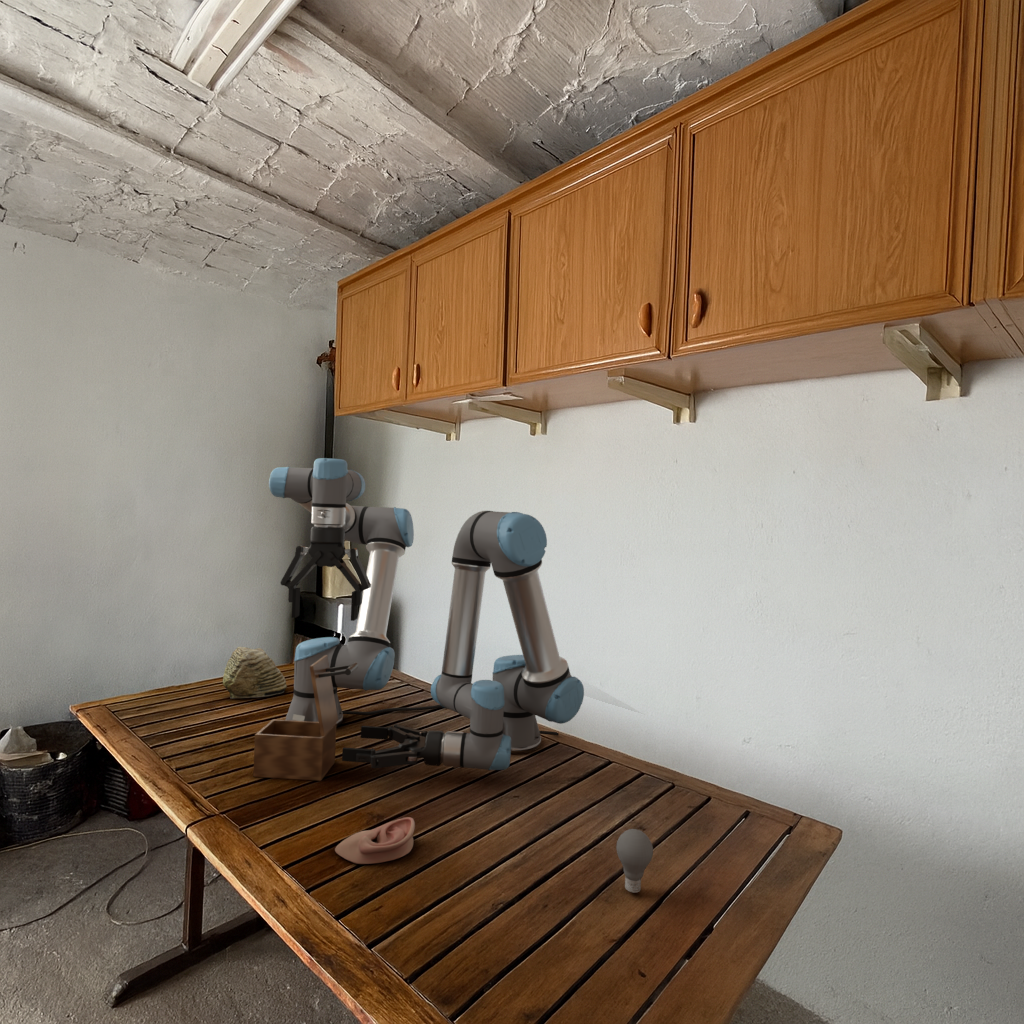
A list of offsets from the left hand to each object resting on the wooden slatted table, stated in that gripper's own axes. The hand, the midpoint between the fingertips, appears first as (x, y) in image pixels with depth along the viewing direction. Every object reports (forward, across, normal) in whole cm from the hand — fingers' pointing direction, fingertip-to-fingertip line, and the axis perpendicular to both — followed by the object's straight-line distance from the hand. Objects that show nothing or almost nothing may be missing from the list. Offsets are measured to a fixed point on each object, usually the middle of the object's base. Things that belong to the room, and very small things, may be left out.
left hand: (324, 618), depth 146 cm
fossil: (+35, -38, +51) cm, 72 cm away
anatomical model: (+35, +21, -30) cm, 51 cm away
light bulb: (+35, +66, -39) cm, 84 cm away
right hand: (+28, +7, 0) cm, 29 cm away
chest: (+35, -6, 0) cm, 36 cm away
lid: (+18, 0, 0) cm, 18 cm away
